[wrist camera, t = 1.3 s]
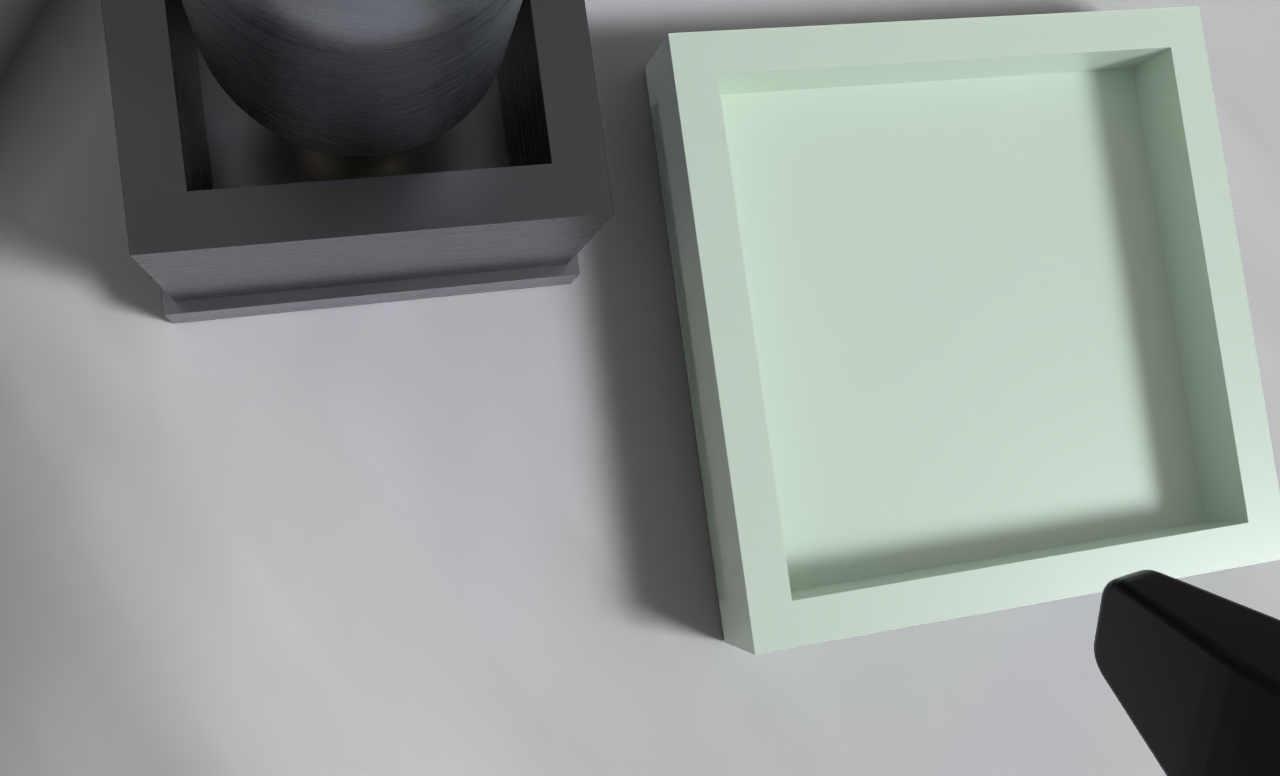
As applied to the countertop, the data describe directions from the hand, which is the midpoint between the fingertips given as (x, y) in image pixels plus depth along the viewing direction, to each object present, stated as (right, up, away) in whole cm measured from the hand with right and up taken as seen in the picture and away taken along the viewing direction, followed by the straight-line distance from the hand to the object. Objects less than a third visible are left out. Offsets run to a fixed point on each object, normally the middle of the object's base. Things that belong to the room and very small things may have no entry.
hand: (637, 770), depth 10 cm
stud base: (-5, +8, +12) cm, 15 cm away
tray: (+6, +4, +14) cm, 16 cm away
